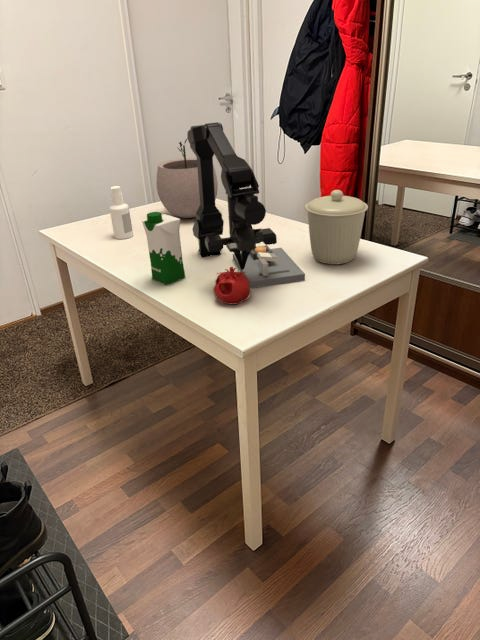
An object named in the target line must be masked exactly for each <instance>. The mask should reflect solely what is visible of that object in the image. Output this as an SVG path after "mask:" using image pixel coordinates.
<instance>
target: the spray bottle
mask: <svg viewBox="0 0 480 640" xmlns="http://www.w3.org/2000/svg"><path fill="white" fill-rule="evenodd" d="M110 191H111V195H110V196H111V202H112V204H111V205H110V206H109V214H110V218H111V219H110V220H111V226H112V229H113V235H114V238H115V239H117V240H126V239H130V238H131V237H133V236H134V231H133V224H132V219H131V213H130V207H129V204H127V203H125V201H124V195H123V191H122V187H121V186H120V185H114V186H111V187H110Z"/></svg>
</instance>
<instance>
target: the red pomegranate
mask: <svg viewBox="0 0 480 640" xmlns="http://www.w3.org/2000/svg"><path fill="white" fill-rule="evenodd" d="M236 269H238V268H236V267H233V266H230V267H229V269H227V268H225V269H224V271H222V272H217V273H216V274H218V276H217V277H216V279H215V286H214V287H213V293H214V296H215V297H216V299H217V300H218V301H220V302H221V303H224V304H227V305H228V304H229V305H230V304H231V305H234V304H235V305H238V304H241V302H243V301H246V300H247V299H248V298H249V297H250V295H251V288H250V284H249V280H248V278H247V277H246V276H245V274H243V273H246V272H240V271H235V270H236Z"/></svg>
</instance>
